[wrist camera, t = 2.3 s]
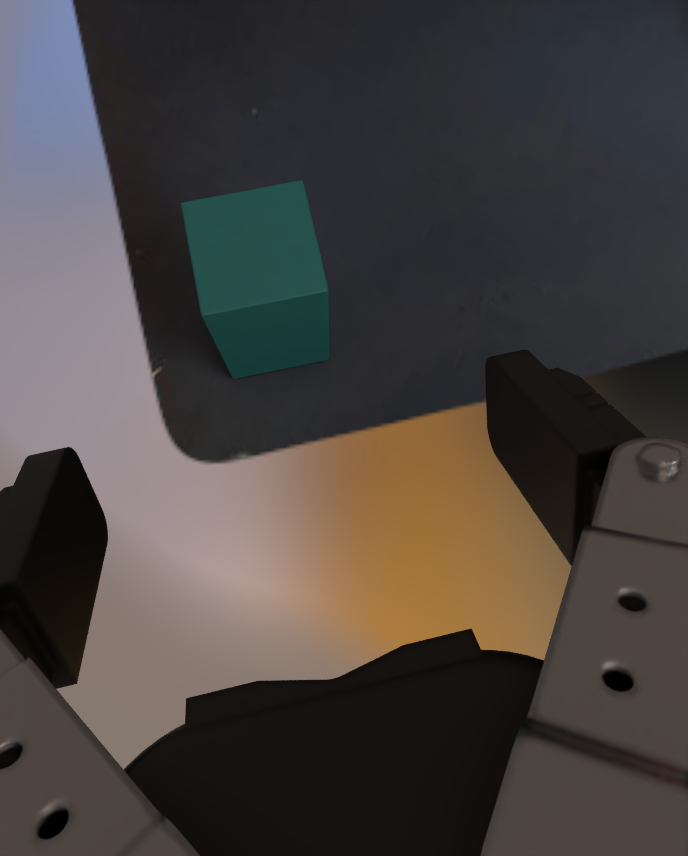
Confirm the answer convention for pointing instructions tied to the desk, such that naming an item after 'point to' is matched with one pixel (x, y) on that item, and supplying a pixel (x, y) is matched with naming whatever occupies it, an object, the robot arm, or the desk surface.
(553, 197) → the desk surface
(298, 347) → the teal block
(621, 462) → the robot arm
